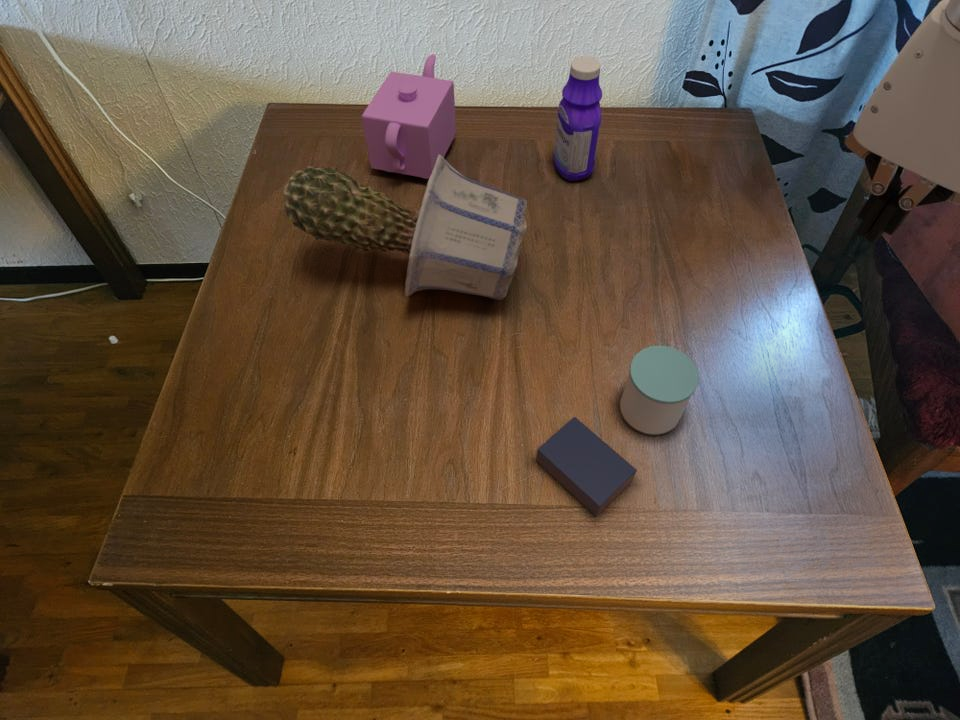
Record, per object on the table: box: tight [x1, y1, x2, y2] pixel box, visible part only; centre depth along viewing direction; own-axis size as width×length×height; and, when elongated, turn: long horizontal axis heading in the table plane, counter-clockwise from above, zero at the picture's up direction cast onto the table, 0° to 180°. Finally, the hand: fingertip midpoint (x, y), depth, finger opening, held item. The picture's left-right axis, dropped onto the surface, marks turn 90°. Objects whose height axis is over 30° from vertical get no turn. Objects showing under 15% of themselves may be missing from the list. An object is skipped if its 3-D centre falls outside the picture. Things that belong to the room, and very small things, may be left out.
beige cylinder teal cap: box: [619, 345, 700, 437], centre depth 72 cm, size 10×7×10 cm
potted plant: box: [282, 155, 529, 301], centre depth 81 cm, size 18×18×30 cm
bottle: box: [553, 55, 603, 182], centre depth 93 cm, size 7×6×17 cm
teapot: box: [361, 54, 457, 180], centre depth 98 cm, size 20×10×12 cm, turn 164°
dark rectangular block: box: [535, 416, 638, 518], centre depth 69 cm, size 9×6×3 cm, turn 43°
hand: (871, 230), depth 53 cm, fingers closed
